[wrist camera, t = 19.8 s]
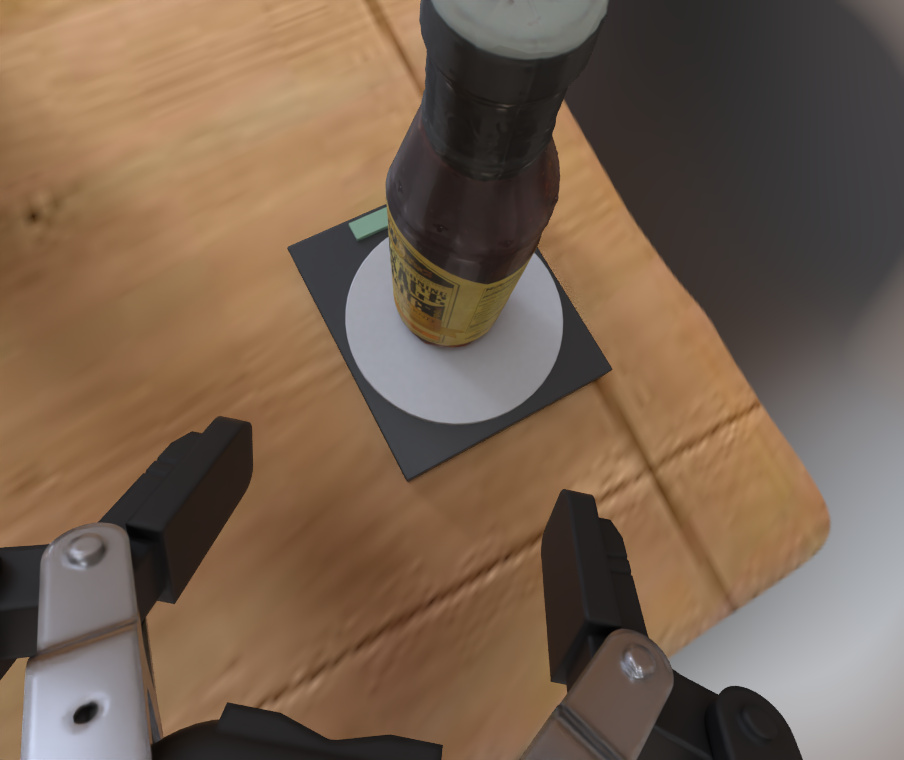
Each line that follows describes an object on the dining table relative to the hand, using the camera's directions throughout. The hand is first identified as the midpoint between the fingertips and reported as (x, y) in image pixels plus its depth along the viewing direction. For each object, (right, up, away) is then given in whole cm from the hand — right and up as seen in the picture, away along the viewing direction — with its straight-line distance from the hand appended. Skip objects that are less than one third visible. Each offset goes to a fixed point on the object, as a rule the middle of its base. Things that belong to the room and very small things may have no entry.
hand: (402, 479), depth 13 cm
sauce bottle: (+1, +7, +17) cm, 18 cm away
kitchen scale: (+1, +6, +20) cm, 21 cm away
